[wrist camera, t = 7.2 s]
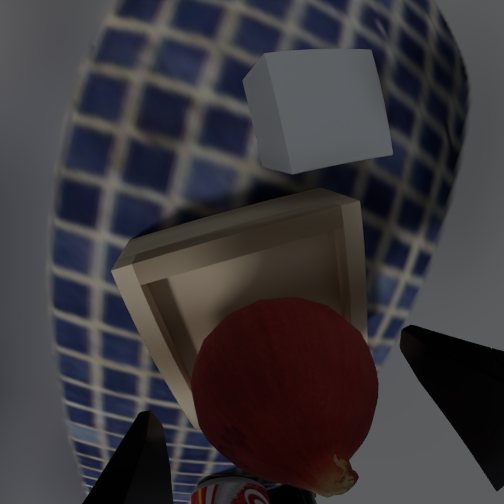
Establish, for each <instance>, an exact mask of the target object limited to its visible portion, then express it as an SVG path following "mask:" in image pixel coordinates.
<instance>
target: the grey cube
mask: <svg viewBox="0 0 504 504" xmlns="http://www.w3.org/2000/svg"><path fill="white" fill-rule="evenodd" d="M243 85H244V89H245V93H246V97H247V101H248V105H249V110H250V114H251V118H252V122H253V126H254V131H255V135H256V139H257V144H258V148H259V153H260V157H261V161H262V166H263V167H264V168H268V169H273V170H277V171H281V172H285V173H289V174H296V173H301V172H305V171H310V170H315V169H319V168H324V167H329V166H334V165H339V164H344V163H349V162H354V161H360V160H365V159H371V158H377V157H382V156H388V155H393V151H392V144H391V138H390V131H389V125H388V120H387V114H386V109H385V104H384V99H383V95H382V90H381V86H380V81H379V77H378V73H377V69H376V65H375V62H374V58H373V54H372V51H371V50H365V49H311V50H294V51H282V52H271V53H264V54H263V55H262V57H261V58H260V59H259V60H258V62H257V63H256V64H255V65H254V67H253V68H252V69H251V70H250V72H249V73H248V74H247V75H246V77H245V78H244V79H243Z"/></svg>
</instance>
